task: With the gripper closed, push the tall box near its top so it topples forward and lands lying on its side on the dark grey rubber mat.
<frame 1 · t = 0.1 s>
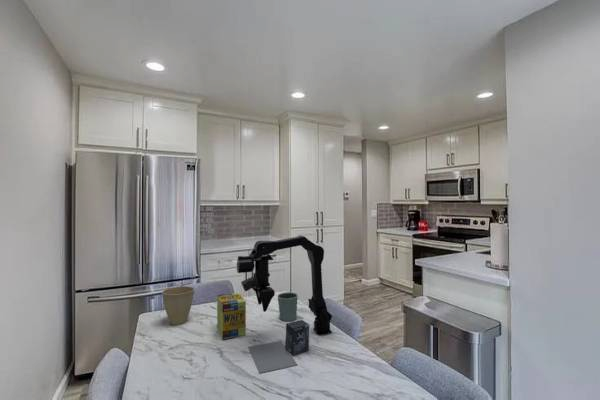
hand: (262, 307, 122), 15 cm above the table, tool pointing down, fingers open, 9 cm apart
plant pot: (178, 322, 145), on the table
protein box: (231, 331, 133), on the table
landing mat: (271, 355, 111), on the table
drinking glass: (287, 319, 147), on the table
box: (296, 350, 115), on the table, touching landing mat
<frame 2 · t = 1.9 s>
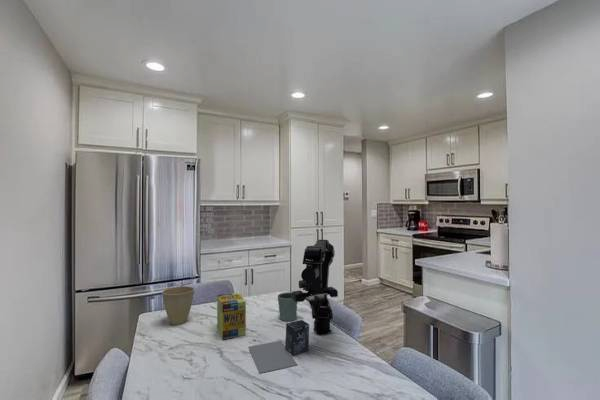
hand: (314, 315, 118), 13 cm above the table, tool pointing down, fingers closed
nothing on the table moved.
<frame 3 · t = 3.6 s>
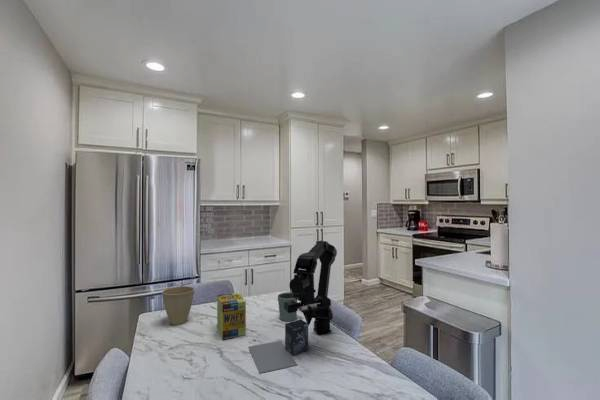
hand: (308, 325, 117), 9 cm above the table, tool pointing down, fingers closed
box: (296, 350, 115), on the table, touching gripper, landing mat
everything else where it was.
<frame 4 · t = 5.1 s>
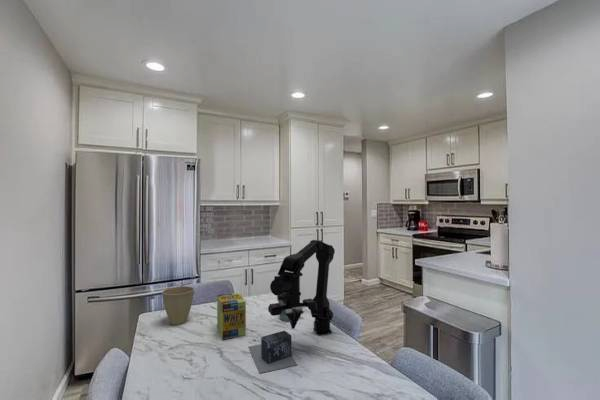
hand: (292, 328, 115), 9 cm above the table, tool pointing down, fingers closed
box: (288, 342, 113), point 4 cm above the table, touching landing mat
everything else where it was.
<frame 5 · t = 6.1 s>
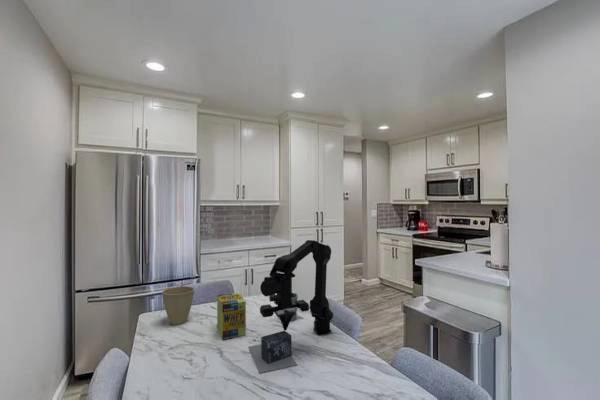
hand: (284, 329, 113), 9 cm above the table, tool pointing down, fingers closed
nothing on the table moved.
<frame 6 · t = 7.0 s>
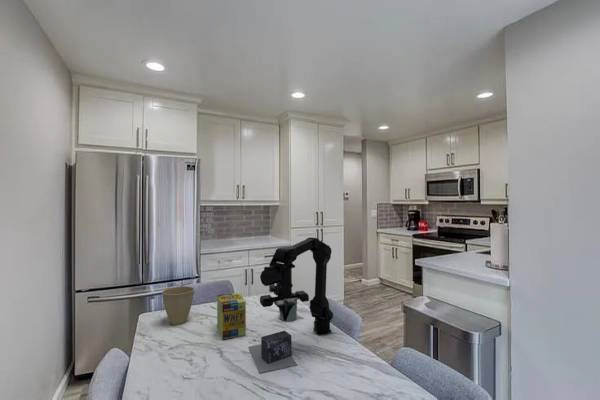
hand: (284, 320, 113), 13 cm above the table, tool pointing down, fingers closed
nothing on the table moved.
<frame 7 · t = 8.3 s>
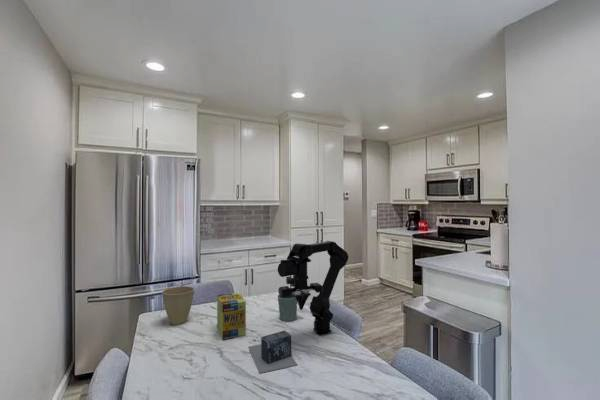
hand: (301, 309, 125), 13 cm above the table, tool pointing down, fingers closed
nothing on the table moved.
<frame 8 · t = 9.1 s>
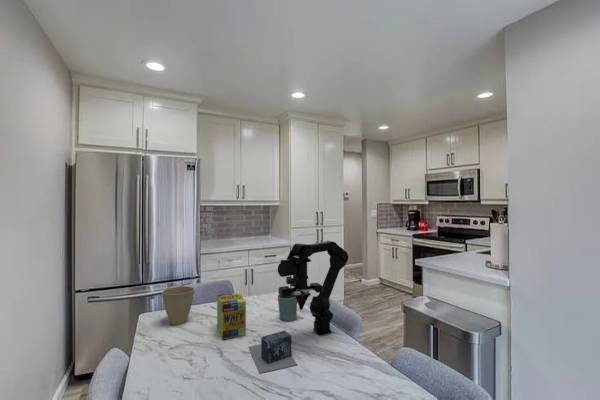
hand: (301, 309, 125), 13 cm above the table, tool pointing down, fingers closed
nothing on the table moved.
at the end: box tilted 90°; box inside the target area (1.1 cm from its centre), point 4.2 cm above the table; box touching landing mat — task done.
